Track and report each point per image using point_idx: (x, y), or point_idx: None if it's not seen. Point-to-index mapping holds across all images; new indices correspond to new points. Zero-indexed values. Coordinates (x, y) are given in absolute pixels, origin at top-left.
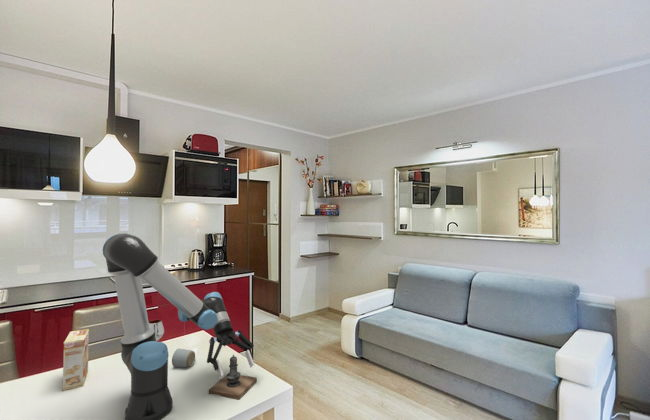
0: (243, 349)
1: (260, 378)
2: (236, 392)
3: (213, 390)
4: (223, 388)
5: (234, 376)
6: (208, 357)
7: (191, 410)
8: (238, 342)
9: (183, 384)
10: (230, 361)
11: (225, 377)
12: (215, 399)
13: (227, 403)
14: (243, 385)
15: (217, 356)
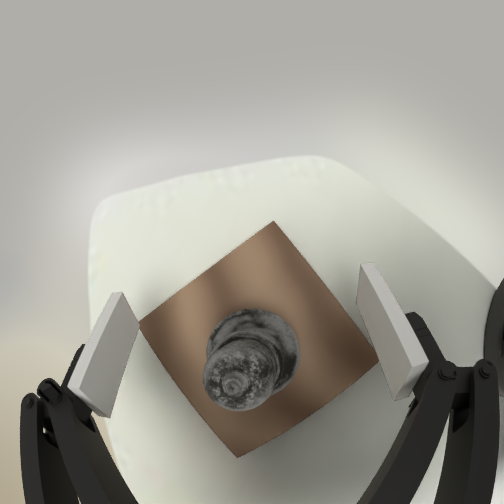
0: (103, 445)
1: None
2: (274, 254)
3: (363, 340)
4: (317, 331)
5: (257, 320)
6: (492, 392)
7: (447, 267)
8: (106, 499)
9: None
10: (274, 367)
11: (268, 429)
12: None
13: (325, 229)
14: (219, 295)
15: (423, 398)
